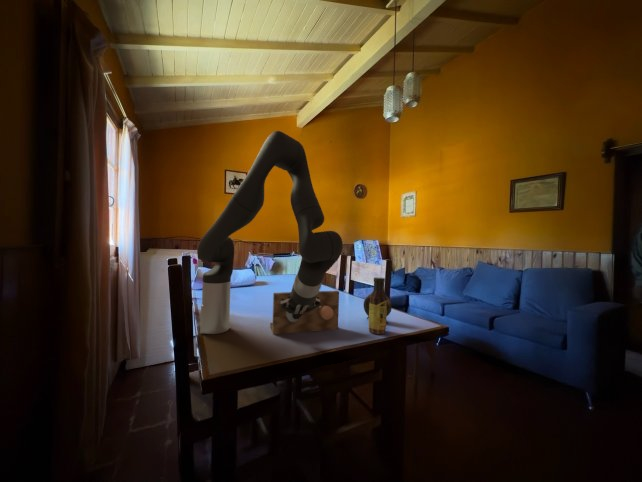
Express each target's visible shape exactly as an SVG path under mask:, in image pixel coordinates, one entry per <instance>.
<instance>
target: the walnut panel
mask: <svg viewBox="0 0 642 482" xmlns="http://www.w3.org/2000/svg"><path fill="white" fill-rule="evenodd" d="M290 294H291V291H287V292H285V291H284V292H273V297H272V299H273V300H272V322H270V324H269V328H270V330H271V332H272V335H283V334H295V333H297V334H298V333H307V332H321V331H331V330H332V331H334V330H339V312H340V311H339V310H340V309H339V308H340V306H339V305H340V291H338V290H319V292H318V295H317V297H319V298H320V302H321V305H320V306H323V305H327V306H329V307H330V308H332V310H333V316H332V318H330V319H328V320H325V319H324V318H322V317H321V316H320V314H319V309H320V306H318V307H316V308H315V309H313V310H311V311H310V312H307V313H306V312H303V314H302V315H301V317H300V318H299V319H298V320H297V321H296V322H291V321H289V320H288V318H287V317H286V310H284V309H283V308H282V307H281V301H280V300H281V299H285V300H286V299H288V296H289V295H290ZM308 307H309V308H310V305H309V306H308Z"/></svg>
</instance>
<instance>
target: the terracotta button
mask: <svg viewBox="0 0 642 482" xmlns="http://www.w3.org/2000/svg"><path fill="white" fill-rule="evenodd" d="M319 314H320V316H321V317H322V318H324V319H325V320H328V319H330V318H332V316H333V310H332V308H330V307H329V306H327V305H323V306H320V309H319Z"/></svg>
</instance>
